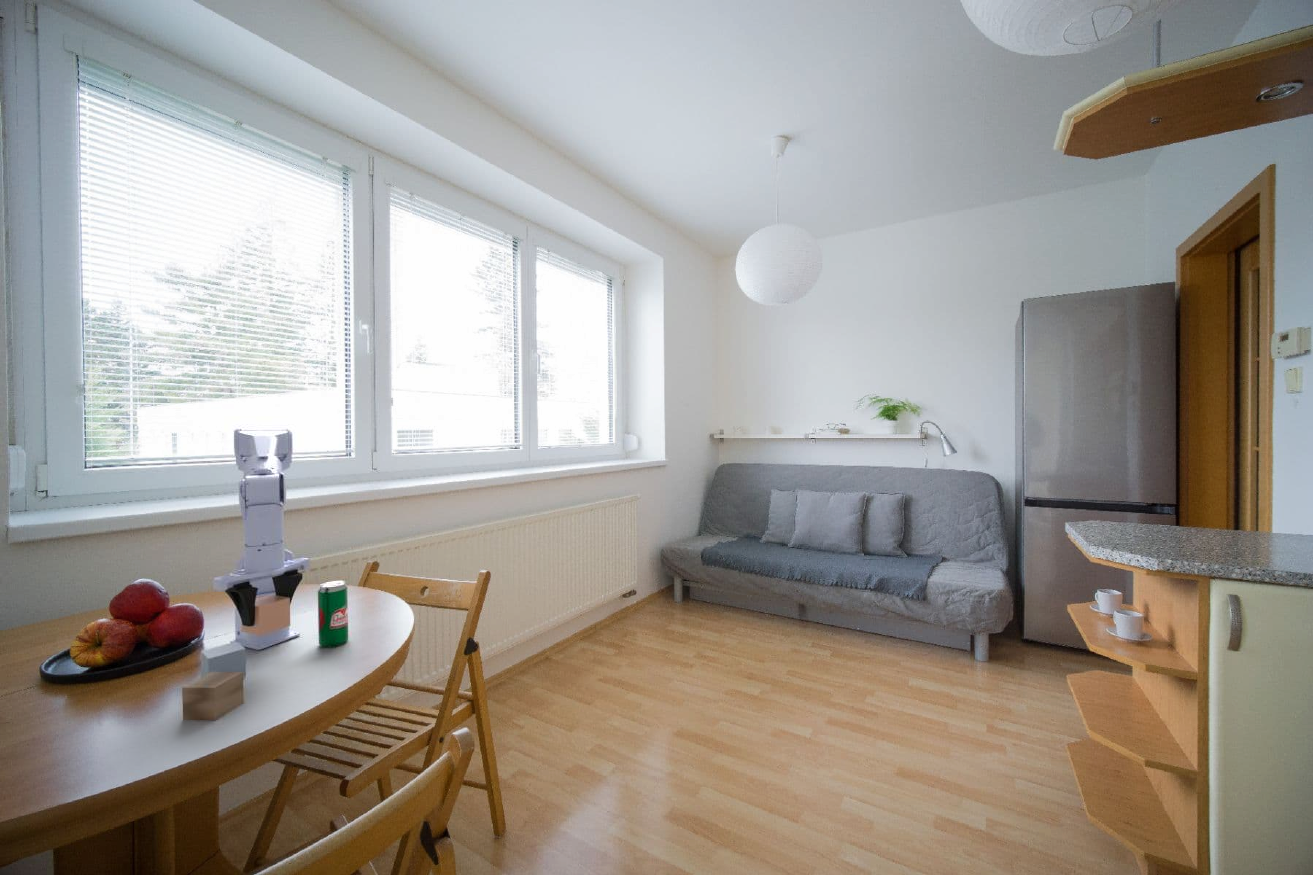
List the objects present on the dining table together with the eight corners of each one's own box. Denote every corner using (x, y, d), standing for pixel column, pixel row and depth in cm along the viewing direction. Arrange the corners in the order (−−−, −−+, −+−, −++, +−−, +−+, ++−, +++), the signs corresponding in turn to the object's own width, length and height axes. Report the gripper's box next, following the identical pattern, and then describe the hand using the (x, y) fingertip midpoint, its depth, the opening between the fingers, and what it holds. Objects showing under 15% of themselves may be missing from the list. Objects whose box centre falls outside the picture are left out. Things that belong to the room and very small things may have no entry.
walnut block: (183, 720, 77) (182, 687, 77) (213, 702, 82) (212, 671, 82) (215, 721, 77) (214, 687, 76) (243, 703, 82) (243, 671, 81)
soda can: (334, 649, 101) (333, 588, 101) (312, 647, 102) (311, 586, 102) (354, 639, 106) (353, 580, 106) (333, 637, 107) (332, 579, 107)
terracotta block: (241, 631, 90) (241, 603, 90) (272, 621, 95) (271, 594, 95) (259, 635, 88) (259, 606, 88) (290, 625, 93) (289, 597, 93)
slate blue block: (201, 679, 89) (200, 650, 89) (237, 668, 93) (237, 641, 93) (209, 688, 86) (208, 658, 86) (246, 676, 90) (245, 648, 90)
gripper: (230, 554, 83) (232, 638, 83) (320, 536, 96) (321, 609, 97) (205, 550, 86) (207, 632, 86) (295, 533, 99) (296, 604, 99)
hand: (265, 619), depth 91 cm, fingers closed on terracotta block, 5 cm apart
